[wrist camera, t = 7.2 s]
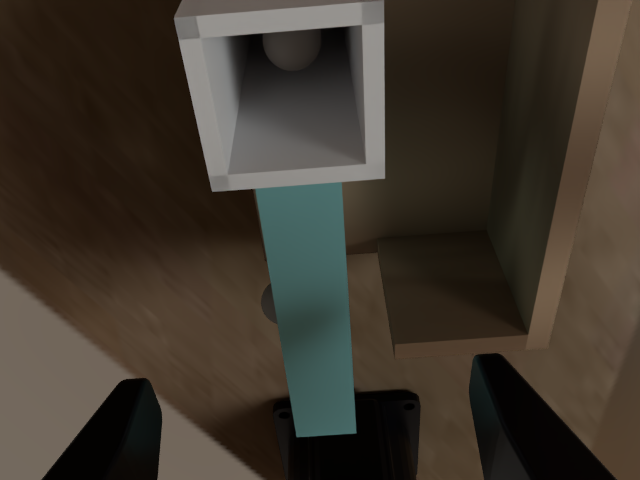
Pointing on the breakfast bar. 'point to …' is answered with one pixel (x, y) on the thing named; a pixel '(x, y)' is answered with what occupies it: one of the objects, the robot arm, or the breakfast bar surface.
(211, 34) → the white and teal holder
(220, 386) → the breakfast bar surface
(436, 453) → the breakfast bar surface
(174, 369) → the breakfast bar surface
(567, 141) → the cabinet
